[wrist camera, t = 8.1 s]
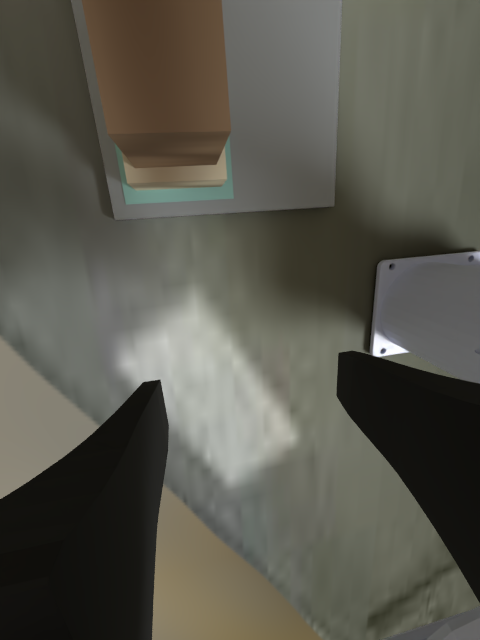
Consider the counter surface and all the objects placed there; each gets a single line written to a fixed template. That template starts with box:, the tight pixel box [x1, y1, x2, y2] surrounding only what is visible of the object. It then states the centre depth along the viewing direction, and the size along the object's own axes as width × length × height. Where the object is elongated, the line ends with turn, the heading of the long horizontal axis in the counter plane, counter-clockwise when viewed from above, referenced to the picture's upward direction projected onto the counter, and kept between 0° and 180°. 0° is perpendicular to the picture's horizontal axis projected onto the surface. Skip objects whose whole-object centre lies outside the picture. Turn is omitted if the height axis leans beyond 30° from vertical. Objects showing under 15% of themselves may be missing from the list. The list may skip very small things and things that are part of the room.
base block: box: [122, 146, 227, 191], centre depth 14 cm, size 5×5×2 cm
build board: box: [71, 0, 342, 220], centre depth 15 cm, size 14×14×1 cm
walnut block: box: [82, 0, 231, 168], centre depth 11 cm, size 4×4×5 cm
